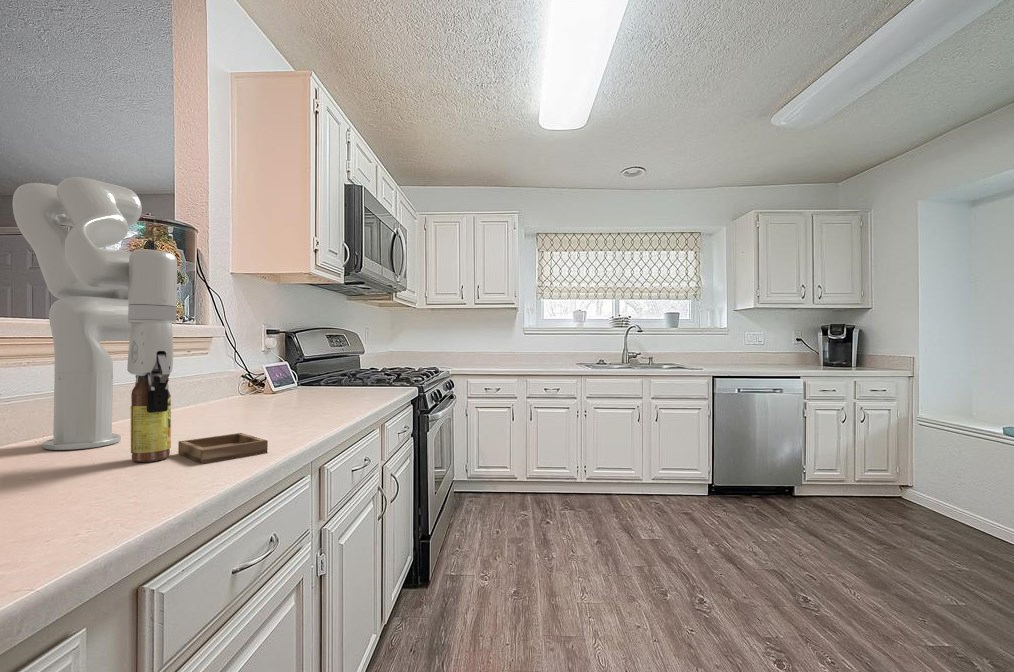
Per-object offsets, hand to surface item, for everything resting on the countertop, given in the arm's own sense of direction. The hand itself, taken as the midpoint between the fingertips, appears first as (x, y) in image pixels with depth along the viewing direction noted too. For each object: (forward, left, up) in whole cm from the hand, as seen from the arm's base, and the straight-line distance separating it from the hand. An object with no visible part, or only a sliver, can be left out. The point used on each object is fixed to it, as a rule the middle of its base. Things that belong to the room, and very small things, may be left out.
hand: (151, 409), depth 94 cm
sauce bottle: (0, 0, -10) cm, 10 cm away
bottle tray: (+5, +11, -10) cm, 15 cm away
